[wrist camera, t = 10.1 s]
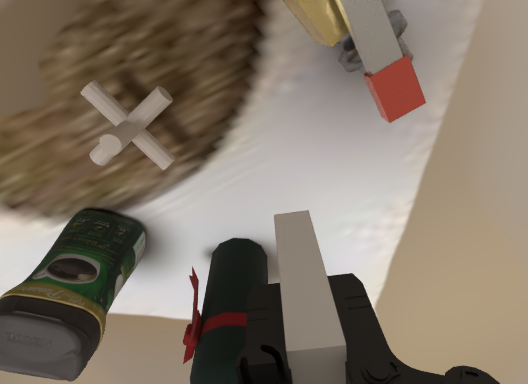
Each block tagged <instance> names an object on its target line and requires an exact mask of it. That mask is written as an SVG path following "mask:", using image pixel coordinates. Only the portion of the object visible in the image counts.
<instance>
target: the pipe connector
mask: <svg viewBox="0 0 528 384" xmlns="http://www.w3.org/2000/svg"><path fill="white" fill-rule="evenodd" d="M81 94H82V95H83V96H84V97H85V98H86V99H87V100H88V101H89V102H90V103H91V104H92V105H93V106H95V107H96V108H97V109H98V110H99V111H100V112H101V113H102V114H103V115H104V116H105V117H106V118H107V119H108V120H110V121H111V122H112V123H113V124H114V125H115V126H116V127H114V128H113V129H111V130H110V131H109V132H107V133H106V134H105V135H103V136H102V137H101V138H100V141H99V144H98V145H97V146H96V147H95V148H94V149H93V150H92V151H91V152H90V154H89V155H90V157H91V159H92V160H93V161H94V162H95V163H96V164H98V165H102V166H103V165H106V164H107V163H108V162H109V161H110V160H111V159H112V158H113V157H114V156H115V155H116V154H118V153H119V152H120V151H121V150H123V149H124V148H125V147H126V146H127V145H128V144H129V143H130V142H131V141H132V142H133V143H134V144H135V145H136V146H137V147H138V148H140V149H141V150H142V151H143V152H144V153H145V154H146V155H147V156H148V157H149V158H150V159H151V160H152V161H154V162H155V163H156V164H157V165H158V166H159V167H160V168H161V169H162V170H165V169H166V168H167V167H168V166H169V165H170V164H171V163H172V162H173V161H174V160H175V157H174V156H173V155H172V154H171V153H170V152H169V151H168V150H167V149H166V148H165V147H164V146H163V145H162V144H161V143H160V142H159V141H158V140H157V139H156V138H155V137H154V136H153V135H152V134H150V133H149V132H148V131H147V130H146V129H145V128H146V127H147V126H148V125H149V124H150V123H151V122H152V121H153V120H154V119H155V118H156V117H157V116H158V115H159V114H160V113H161V112H162V111H163V110H164V109H165V108H166V107H167V106H168V105H169V104H170V103H172V102H173V99H172V97H171V95H170V94H169V93H168V92H167V91H166V90H165V89H164V88H162V87H161V86H157V87H156V88H155V89H154V90H153V91H152V92H151V93H150V94H149V95H148V96H147V97H146V98H145V99H144V100H143V101H142V102H141V103H140V104H139V105H138V106H137V107H136V108H135V109H134V110H133V111H132V112H131V113H129V112H128V111H127V110H126V109H125V108H124V107H123V106H122V105H121V104H120V103H119V102H117V101H116V100H115V99H114V98H113V97H112V96H111V95H110V94H109V93H108V92H107V91H106V90H105V89H104V88H103V87H102V86H101V85H100V84H99V83H98V82H97V81H96V80H94V81H92V82H90V83H89V84H88V85H87V86H86V87H85V88H83V90H82V91H81Z"/></svg>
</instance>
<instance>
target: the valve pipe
mask: <svg viewBox="0 0 528 384" xmlns="http://www.w3.org/2000/svg"><path fill="white" fill-rule="evenodd" d="M283 1H284V2H285V4H286V5H287V6H288V7H289V9H290V10H291V11H292V13H293V14H294V15H295V16H296V18H297V19H298V20H299V22H300V23H301V24H302V25H303V27H304V28H305V29H306V31H307V32H308V33H309V34H310V36H311V37H312V38H313V40H314V41H315V42H316V43H319V44H322V45H326V46H329V47H333V46H334V45H335V44H336V43H337V42H339V43H340V45H341V46H342V48H343V49H344V51H343V52H342V53H341V55H340V57H339V59H338V61H339V63H340V64H341V65H342V66H343V68H344V69H345V70H346V71H347V72H352V71H355V70H358V69H359V70H360V72H361V73H362V74H365V73H367V71H366V69H365V67H364V64H363V62H362V60H361V58H360V55H359V53H358V51H357V49H356V46H355V44H354V42H353V39H352V37H351V35H350V33H349V30H348V28H347V26H346V23H345V21H344V19H343V17H342V14H341V12H340V10H339V8H338V5H337V3H336V1H335V0H283ZM387 16H388V18H389V21H390V24H391V26H392V29H393V32H394V34H395V37H396V39H397V42H398V45H399V47H400V50H401V53H402V54H405V55H408V56H409V58H410V61H411V62H412V60H413V55H412V53H411V52H410V50H409V49H408V47H407V46H406V44H405V43H404V41H403V40H402V38H401V37H400V35H401V34H402V33H403V31H404V30H405V28H406V26H407V22H406V20H405V18H404V17H403V15H402V14H401V12H400V11H399V10H394V11H391V12H389V13H387Z"/></svg>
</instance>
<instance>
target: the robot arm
mask: <svg viewBox="0 0 528 384" xmlns="http://www.w3.org/2000/svg"><path fill="white" fill-rule="evenodd" d="M274 222H275V233H276V244H277V255H278V266H279V277H280V283H274V284H266V285H257V286H253V288H252V289H251V291H250V293H249V295H248V297H247V319H246V321H247V323H246V347H245V348H244V349H242V351H241V352H240V354H239V355H238V356H237V359H236V362H235V366H234V368H235V371H236V375H237V378H238V381H237V383H236V384H500V383H499V382H498V381H496V380H495V379H494V378H493V377H491V376H490V375H489V374H487V373H485V372H483V371H481V370H479V369H477V368H474V367H469V366H457V367H453V368H451V369H450V370H448V371H447V372H446V373H445V376H444V375H439V374H434V373H429V372H424V371H420V370H417V369H414V368H411V367H409V366H407V365H406V364H404V363H403V362H401V361H400V360H399V359H397V358H396V356H395V355H394V354H393V353H392V352H391V350H390V348H389V346H388V344H387V341H386V339H385V337H384V334H383V332H382V329H381V327H380V324H379V322H378V320H377V317H376V315H375V312H374V310H373V308H372V305H371V303H370V300H369V298H368V296H367V293H366V290H365V288H364V286H363V283H362V282H361V281H360V280H359V279H358V278H357V277H356V276H355V275H354V274H353V273H350V274H342V275H333V276H327V274H326V271H325V267H324V264H323V260H322V257H321V253H320V250H319V246H318V242H317V239H316V235H315V232H314V228H313V225H312V221H311V217H310V214H309V210H308V211H300V212H292V213H284V214H277V215H274Z"/></svg>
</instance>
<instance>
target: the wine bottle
mask: <svg viewBox="0 0 528 384" xmlns="http://www.w3.org/2000/svg"><path fill="white" fill-rule="evenodd" d="M192 274H193V276H190V275H189V276H190V280H191V283H192V286H193V289H194V303H193V316H192V324H189V325H188V326H187V328H186V331H185V335H184V339H183V344H184V345H187V346H186V351H185V356H184V362H183V364H184V363H185V362H187V361H188V360H190V359H191V358H192V357H193V353H194V350H195V353H194V359H193V364H192V370H191V376H190V384H236V383H237V381H238V378H237V375H236V371H235V368H234V366H235V362H236V359H237V356H238V355H239V354H240V352H241V351H242V349H244V348H245V347H246V323H247V321H246V319H247V297H248V295H249V293H250V291H251V289H252V288H253V286H257V285H266V284H268V269H267V255H266V254H265V252H264V250H263V249H262V247H261V245H259V244H257V243H255V242H253V241H251V240H249V239H240V238H232V239H230V240H228V241H225V242H223V243H220V244H219V246H218V247H217V248H216V250H215V251H214V252H213V254H212V259H211V265H210V270H209V276H208V281H207V287H206V292H205V298H204V303H203V309H202V314H201V315H200V313H199V310H198V311H197V305H198V282H199V280H198V278H197V276H196V274H195V271H194V269H193V267H192ZM195 347H196V348H195Z"/></svg>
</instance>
